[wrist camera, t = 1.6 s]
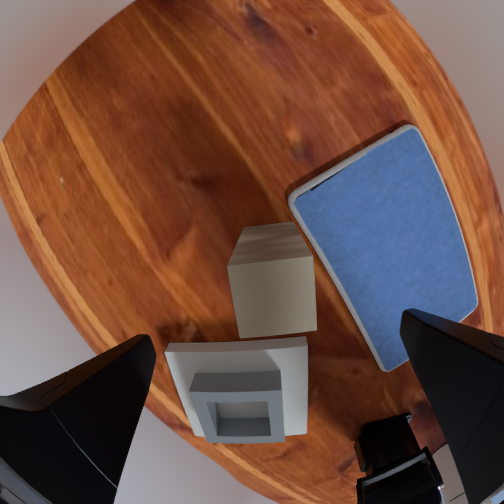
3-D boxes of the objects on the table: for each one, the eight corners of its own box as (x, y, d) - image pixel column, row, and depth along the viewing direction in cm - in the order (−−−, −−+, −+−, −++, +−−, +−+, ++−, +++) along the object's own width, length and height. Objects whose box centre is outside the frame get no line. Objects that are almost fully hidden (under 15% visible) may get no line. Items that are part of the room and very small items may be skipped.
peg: (293, 221, 20) (313, 255, 11) (297, 268, 21) (317, 330, 12) (243, 227, 20) (227, 265, 12) (250, 274, 21) (239, 338, 13)
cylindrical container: (425, 464, 29) (449, 570, 6) (440, 444, 27) (473, 563, 4) (456, 452, 29) (485, 551, 5) (473, 431, 26) (511, 538, 3)
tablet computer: (281, 197, 20) (282, 198, 19) (409, 121, 18) (416, 118, 17) (379, 369, 24) (384, 377, 23) (474, 301, 22) (481, 306, 20)
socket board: (305, 336, 22) (311, 364, 19) (305, 423, 26) (308, 451, 22) (169, 342, 23) (154, 369, 20) (197, 426, 26) (190, 452, 23)
